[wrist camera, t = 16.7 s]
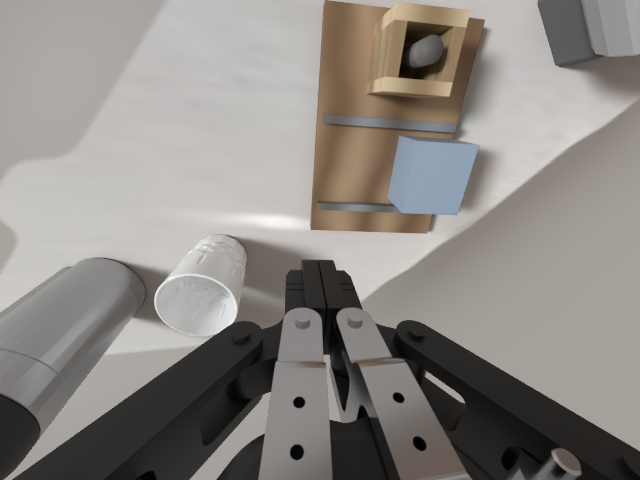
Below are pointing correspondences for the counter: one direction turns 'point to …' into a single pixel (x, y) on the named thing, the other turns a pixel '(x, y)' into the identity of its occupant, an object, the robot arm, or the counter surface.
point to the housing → (430, 174)
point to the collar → (414, 27)
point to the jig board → (373, 121)
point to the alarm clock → (591, 29)
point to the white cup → (204, 288)
